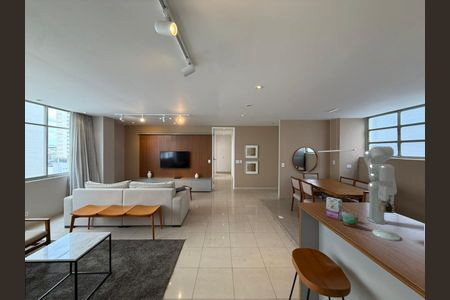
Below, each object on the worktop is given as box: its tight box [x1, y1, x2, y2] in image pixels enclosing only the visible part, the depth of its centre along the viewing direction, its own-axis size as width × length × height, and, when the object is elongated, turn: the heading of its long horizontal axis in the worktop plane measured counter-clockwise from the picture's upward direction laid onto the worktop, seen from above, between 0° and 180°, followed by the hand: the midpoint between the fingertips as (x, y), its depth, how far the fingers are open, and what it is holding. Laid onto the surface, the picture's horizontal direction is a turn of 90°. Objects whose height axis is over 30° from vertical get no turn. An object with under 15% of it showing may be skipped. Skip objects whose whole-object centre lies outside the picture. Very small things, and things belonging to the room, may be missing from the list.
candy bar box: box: [325, 196, 343, 221], centre depth 159 cm, size 11×5×16 cm, turn 30°
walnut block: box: [379, 201, 395, 214], centre depth 127 cm, size 6×6×6 cm
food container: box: [341, 209, 360, 229], centre depth 143 cm, size 12×6×10 cm, turn 23°
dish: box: [372, 228, 401, 242], centre depth 127 cm, size 14×14×1 cm
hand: (386, 210), depth 127 cm, fingers closed on walnut block, 6 cm apart
